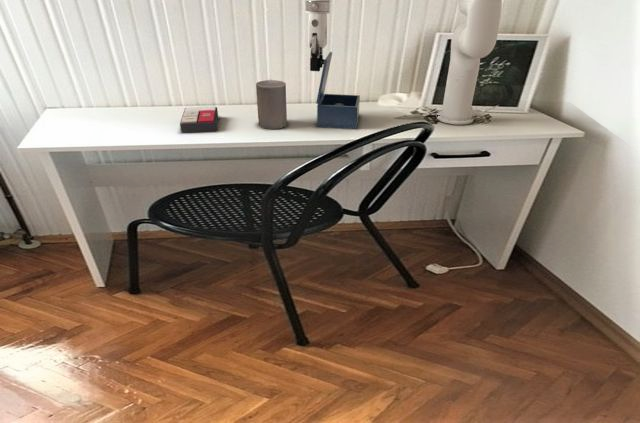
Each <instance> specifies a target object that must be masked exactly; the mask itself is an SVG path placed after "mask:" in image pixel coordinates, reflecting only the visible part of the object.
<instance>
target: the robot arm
mask: <svg viewBox="0 0 640 423" xmlns="http://www.w3.org/2000/svg"><path fill="white" fill-rule="evenodd" d="M457 3H458V9H459V11H460V13H461V14H462V15H464V16H465V17H467V18H466V21H464V22H462V23H460V24H459V25H458V26H457V27H456V28H455V29H454V30H453V33H452V36H451V40H450V57H449V58H450V59H449V66H448V72H447V78H446V84H445V89H444V96H443V101H442V107H441V111H440V112H437V113H436V119H437V120H438V121H440V122H441V123H445V124H449V125H458V126H461V125H462V126H463V125H469V124H472V123H473V122H474V119H475V117H482V118H484V117H485V114H486V110H481V109H473V107H472V106H473V100H474V97H475V96H474V95H475V91H476V85H477V81H478V75H479V72H480V65H481V59H483V58H486V57H487V56H488V55H490V54H491V53H492V51H493V50H494V48H495V46H496V44H497V40H498V36H499V35H498V34H499V28H500V21H501V13H502V5H503V0H458V2H457ZM304 6H305V9H304V10H305V11H304V12H305V13H306V14H308V21H307V22H308V25H307V26H308V30H307V31H308V32H307V33H308V34H307V37H308V38H307V43H308V45H307V46H308V47H309V49H310V58H309V71H310V72H320V71H321V69H323V66H324V65H323V64H320V59H324V55H323V54H324V53H323V52H324V51H323V50H324V48H325V47H326V46H327V44H328V14H330V13H331V0H305V5H304ZM319 57H320V58H319ZM437 115H440V116H438V117H437Z"/></svg>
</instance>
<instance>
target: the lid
mask: <svg viewBox="0 0 640 423" xmlns="http://www.w3.org/2000/svg"><path fill="white" fill-rule="evenodd" d="M332 56H333V51H330V52H329V53H328V54H327V56H326V57H325V58H323V59H320V64H323V67H322V72H321V77H320V82H319V87H318V93H317V97H316V102H315V104H316V105H318V104H319V102H320V100H321V98H322V96H323V94H325V91H326V87H327V81H328V76H329V72H330V71H329V70H330V68H331V67H330V66H331V62H332ZM319 58H320V57H319Z"/></svg>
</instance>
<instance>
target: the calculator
mask: <svg viewBox="0 0 640 423" xmlns="http://www.w3.org/2000/svg"><path fill="white" fill-rule="evenodd" d="M218 121H219V110H218V107H217V106H190V107H188V106H187V107H185V108H184V110H183V112H182V116H181V119H180V123H179V126H180V127H179V128H180V133H181V134H183V133H205V132H207V133H209V132H217V128H218Z"/></svg>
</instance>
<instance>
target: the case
mask: <svg viewBox="0 0 640 423" xmlns="http://www.w3.org/2000/svg"><path fill="white" fill-rule="evenodd" d="M360 100H361V96H360V94H359V95H357V94H339V93H338V94H335V93H324V94H323V96H322V98H321V100H320V102H319V104H316V106H317V107H316V127H317V128H333V129H349V130H356V129H357V127H358V122H359V116H360ZM336 103H342V104H344V106H336V105H334V104H336Z"/></svg>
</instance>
